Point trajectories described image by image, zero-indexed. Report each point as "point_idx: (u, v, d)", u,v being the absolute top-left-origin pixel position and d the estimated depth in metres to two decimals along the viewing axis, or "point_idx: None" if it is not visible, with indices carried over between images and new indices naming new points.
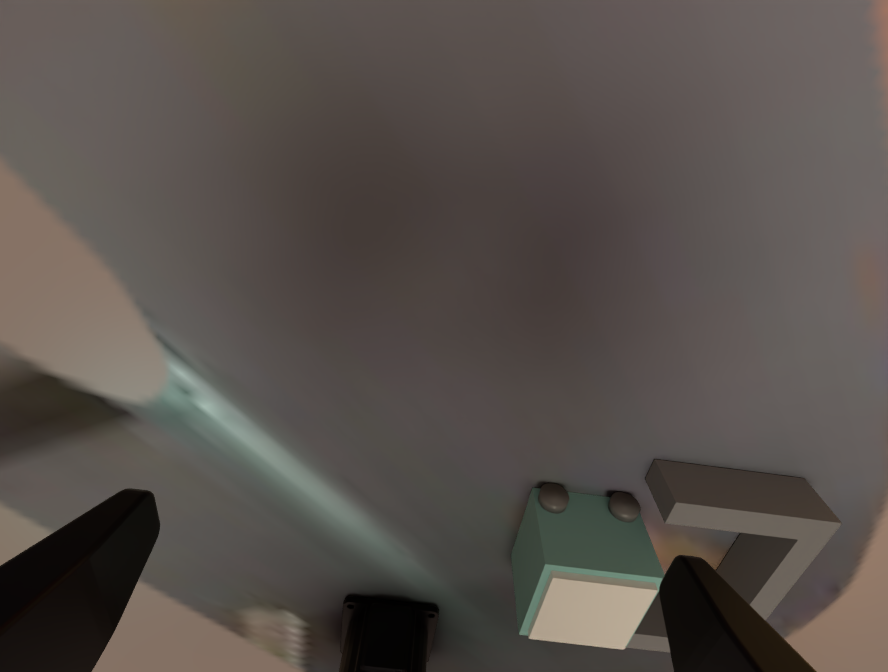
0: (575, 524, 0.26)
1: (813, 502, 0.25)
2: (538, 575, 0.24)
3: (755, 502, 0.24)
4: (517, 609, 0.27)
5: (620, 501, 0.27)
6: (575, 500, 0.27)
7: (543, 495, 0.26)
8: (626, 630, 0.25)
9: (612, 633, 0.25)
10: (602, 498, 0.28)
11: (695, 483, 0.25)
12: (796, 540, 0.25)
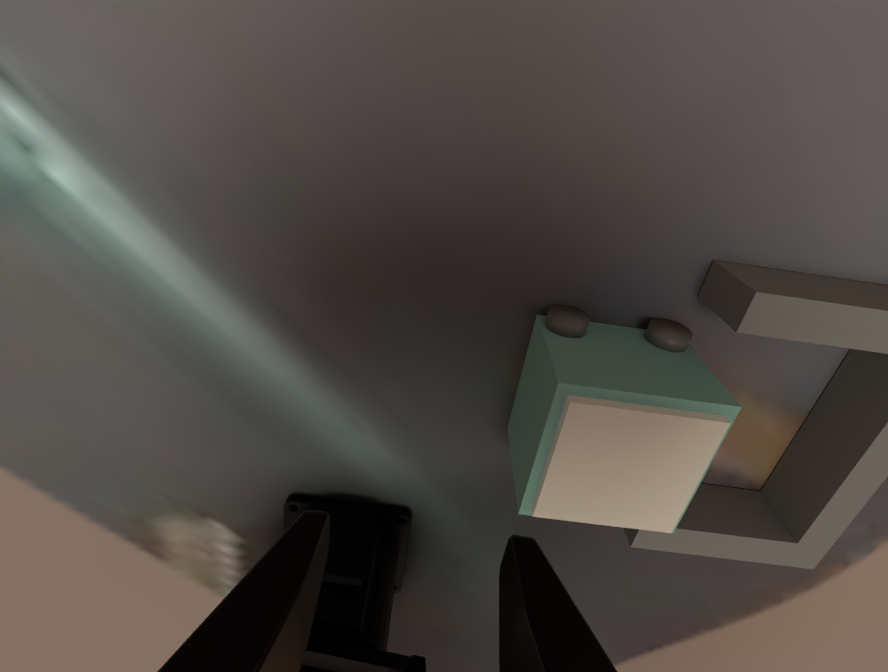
0: (600, 349, 0.18)
1: None
2: (547, 410, 0.16)
3: (870, 301, 0.16)
4: (516, 484, 0.19)
5: (663, 326, 0.19)
6: (598, 328, 0.19)
7: (553, 314, 0.18)
8: (677, 499, 0.17)
9: (656, 504, 0.17)
10: (635, 329, 0.20)
11: (779, 281, 0.17)
12: None
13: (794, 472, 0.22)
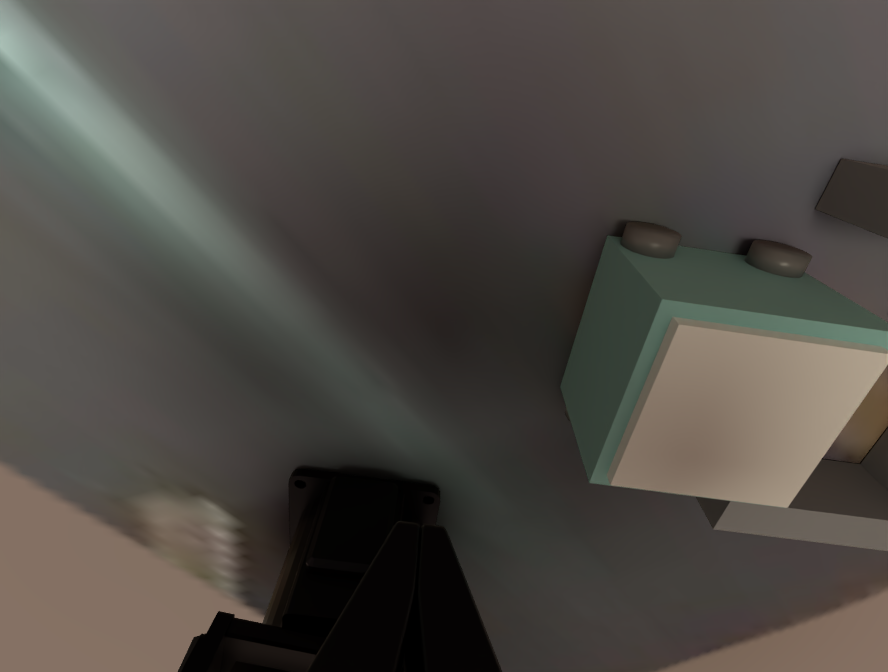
0: (699, 270, 0.14)
1: None
2: (639, 341, 0.12)
3: None
4: (582, 447, 0.15)
5: (772, 246, 0.15)
6: (686, 251, 0.15)
7: (634, 228, 0.14)
8: (803, 462, 0.13)
9: (773, 469, 0.13)
10: (731, 255, 0.16)
11: None
12: None
13: None
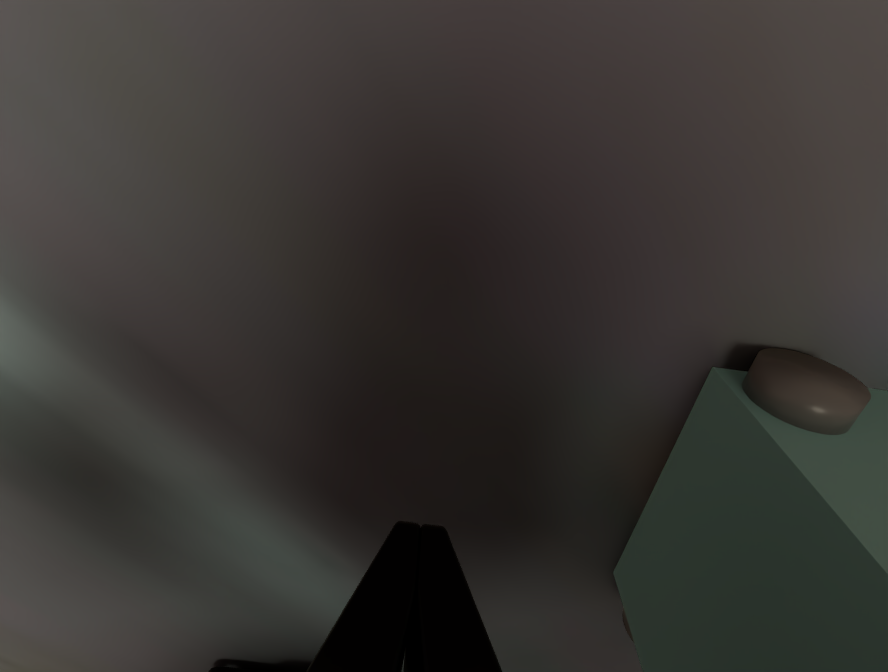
0: None
1: None
2: None
3: None
4: None
5: None
6: None
7: (779, 374, 0.08)
8: None
9: None
10: None
11: None
12: None
13: None
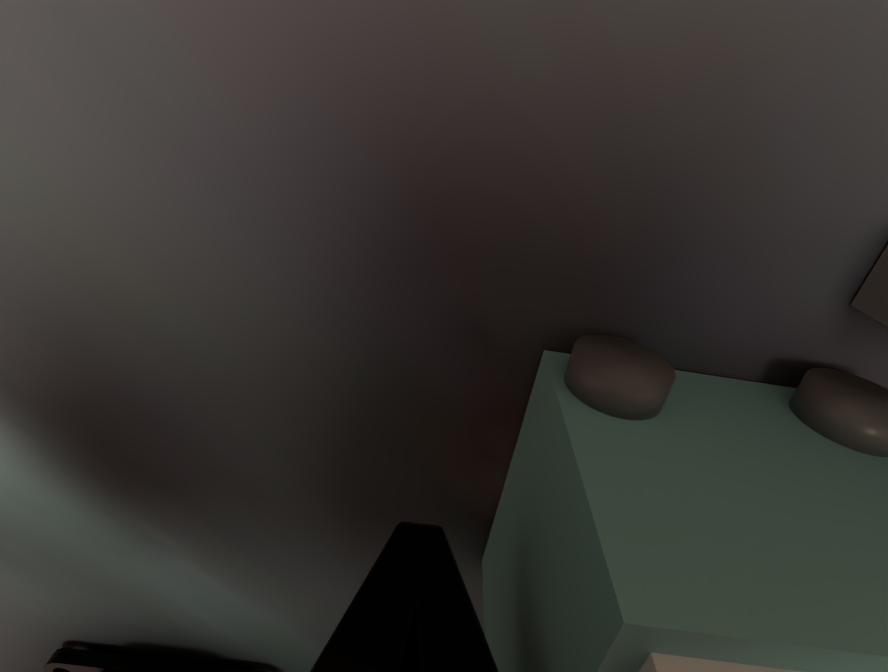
0: (709, 456, 0.07)
1: None
2: (577, 666, 0.05)
3: None
4: None
5: (842, 389, 0.08)
6: (685, 390, 0.08)
7: (585, 358, 0.08)
8: None
9: None
10: (764, 391, 0.09)
11: None
12: None
13: None
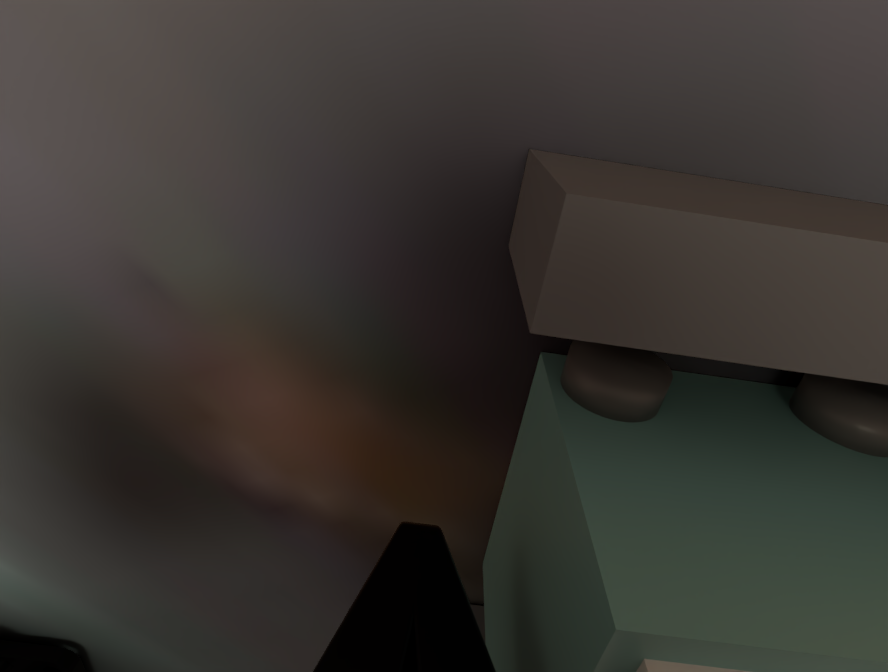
0: (707, 457, 0.07)
1: None
2: None
3: None
4: None
5: (843, 389, 0.08)
6: (683, 391, 0.08)
7: (581, 360, 0.07)
8: None
9: None
10: (763, 391, 0.09)
11: (677, 187, 0.06)
12: None
13: None
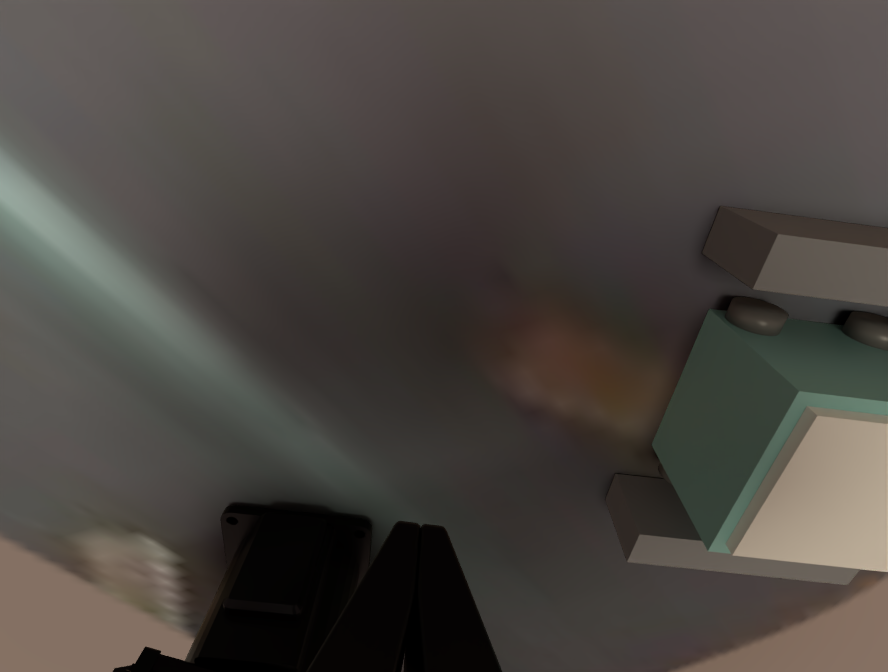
0: (810, 349, 0.14)
1: None
2: (769, 425, 0.13)
3: None
4: (693, 513, 0.16)
5: (870, 320, 0.15)
6: (787, 324, 0.16)
7: (742, 307, 0.15)
8: None
9: None
10: (828, 325, 0.16)
11: (804, 226, 0.13)
12: None
13: None
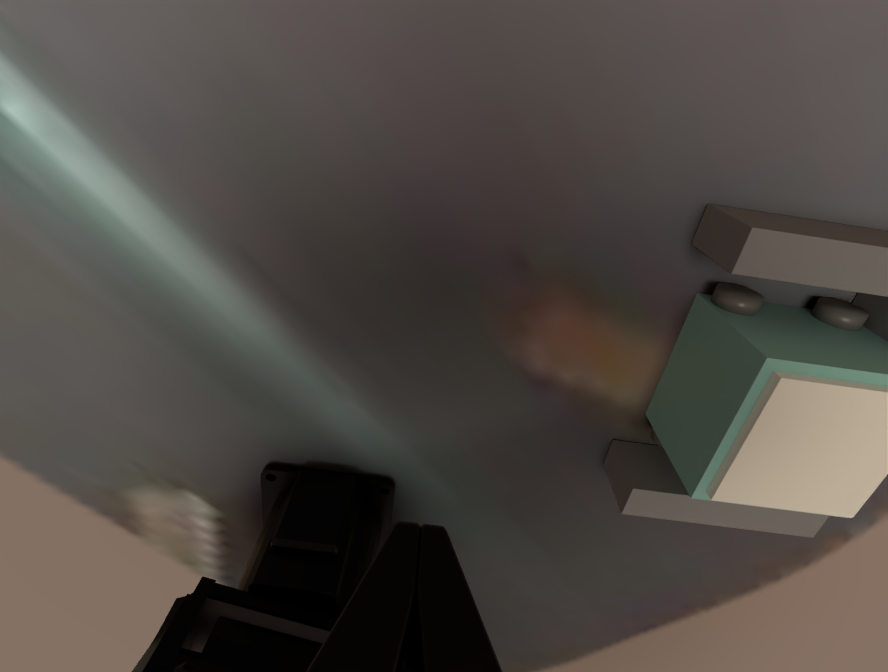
0: (781, 326, 0.17)
1: None
2: (743, 387, 0.15)
3: (874, 241, 0.15)
4: (679, 468, 0.18)
5: (835, 304, 0.18)
6: (764, 307, 0.18)
7: (725, 291, 0.18)
8: (868, 481, 0.16)
9: (844, 487, 0.16)
10: (799, 309, 0.19)
11: (777, 222, 0.16)
12: None
13: None
